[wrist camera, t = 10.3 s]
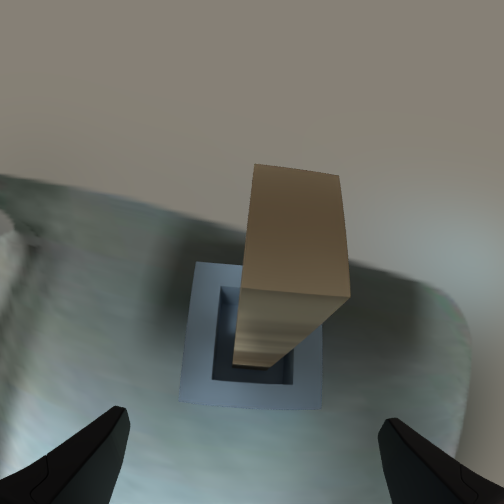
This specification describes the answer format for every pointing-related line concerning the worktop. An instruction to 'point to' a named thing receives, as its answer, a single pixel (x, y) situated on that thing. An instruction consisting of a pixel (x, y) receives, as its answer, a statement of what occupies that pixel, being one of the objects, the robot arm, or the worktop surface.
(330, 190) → the slat
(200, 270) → the blue-grey socket block
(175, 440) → the worktop surface
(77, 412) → the worktop surface
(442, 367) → the worktop surface
